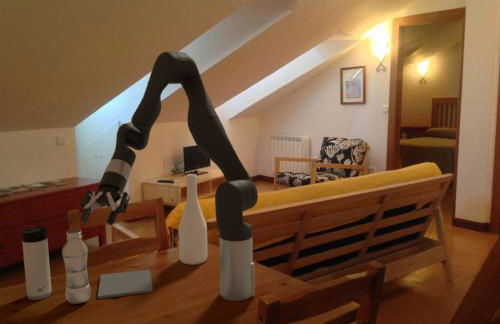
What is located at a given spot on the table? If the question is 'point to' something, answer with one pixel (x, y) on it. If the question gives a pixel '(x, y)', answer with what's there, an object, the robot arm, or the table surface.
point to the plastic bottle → (76, 268)
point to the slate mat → (125, 284)
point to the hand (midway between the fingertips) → (96, 222)
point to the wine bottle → (192, 227)
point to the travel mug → (36, 263)
